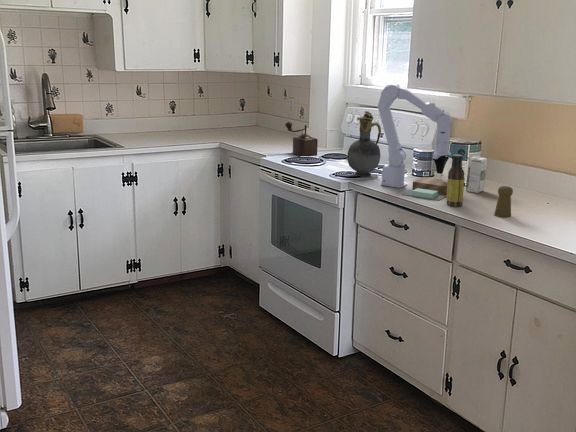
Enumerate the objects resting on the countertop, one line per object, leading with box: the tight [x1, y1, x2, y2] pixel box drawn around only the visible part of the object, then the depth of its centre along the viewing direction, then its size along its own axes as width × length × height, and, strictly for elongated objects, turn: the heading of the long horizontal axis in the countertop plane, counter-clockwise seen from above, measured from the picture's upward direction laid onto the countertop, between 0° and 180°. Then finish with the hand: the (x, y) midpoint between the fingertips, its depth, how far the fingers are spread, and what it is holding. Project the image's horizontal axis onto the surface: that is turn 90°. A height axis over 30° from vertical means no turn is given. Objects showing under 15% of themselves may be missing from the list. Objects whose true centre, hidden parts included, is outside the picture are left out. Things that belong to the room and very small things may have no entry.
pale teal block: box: [411, 188, 438, 200], centre depth 263 cm, size 9×6×2 cm, turn 57°
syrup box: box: [465, 156, 488, 194], centre depth 272 cm, size 6×6×14 cm
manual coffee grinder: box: [285, 121, 318, 157], centre depth 349 cm, size 16×11×18 cm
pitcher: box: [346, 110, 382, 178], centre depth 299 cm, size 11×19×30 cm, turn 133°
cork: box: [493, 185, 514, 219], centre depth 235 cm, size 6×6×11 cm
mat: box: [401, 189, 447, 201], centre depth 265 cm, size 16×9×1 cm, turn 56°
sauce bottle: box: [446, 153, 465, 208], centre depth 247 cm, size 6×6×20 cm
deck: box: [411, 176, 448, 197], centre depth 273 cm, size 15×12×4 cm
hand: (439, 173), depth 275 cm, fingers closed
